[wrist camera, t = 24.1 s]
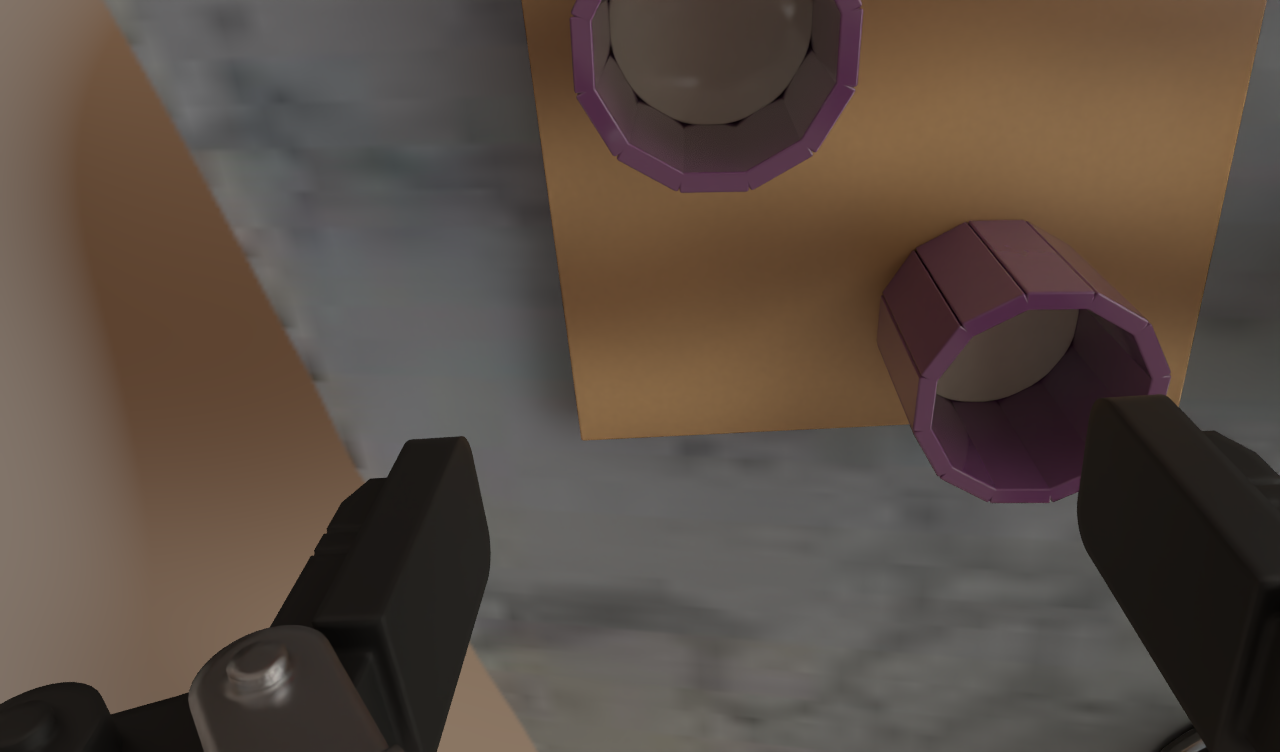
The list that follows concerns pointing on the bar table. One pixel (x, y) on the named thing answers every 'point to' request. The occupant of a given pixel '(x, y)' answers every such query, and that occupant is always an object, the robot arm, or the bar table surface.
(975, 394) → the end ramekin
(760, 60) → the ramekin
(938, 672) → the bar table surface
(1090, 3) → the oak board
